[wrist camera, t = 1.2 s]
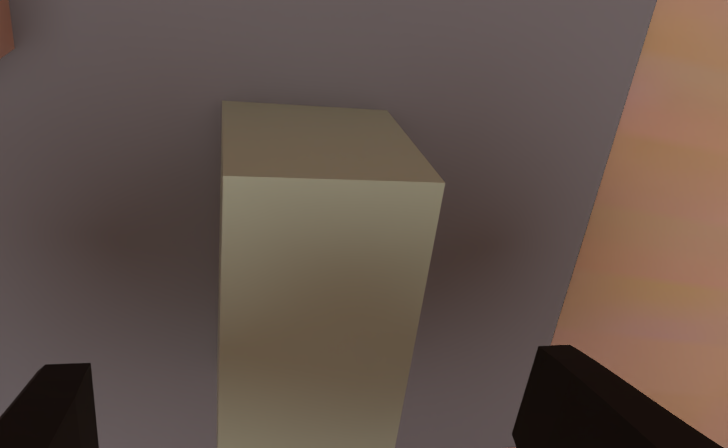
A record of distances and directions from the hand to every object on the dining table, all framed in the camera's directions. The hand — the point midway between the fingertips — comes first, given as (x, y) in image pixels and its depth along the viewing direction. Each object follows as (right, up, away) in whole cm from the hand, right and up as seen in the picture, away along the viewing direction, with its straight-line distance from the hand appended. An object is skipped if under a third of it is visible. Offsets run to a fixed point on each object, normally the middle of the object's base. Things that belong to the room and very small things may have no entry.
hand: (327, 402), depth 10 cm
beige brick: (-1, +2, +5) cm, 5 cm away
